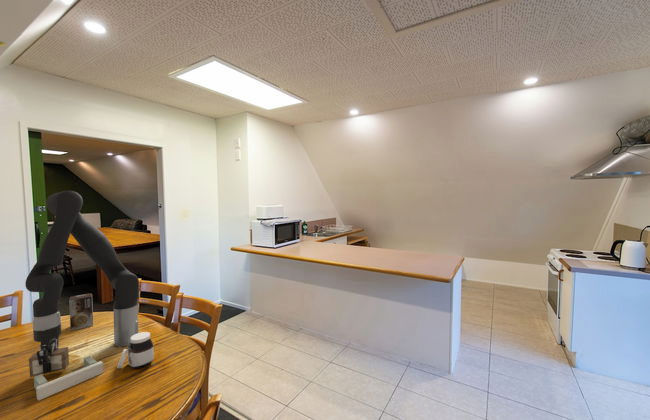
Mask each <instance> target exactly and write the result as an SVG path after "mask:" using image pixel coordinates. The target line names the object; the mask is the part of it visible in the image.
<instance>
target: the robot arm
mask: <svg viewBox="0 0 650 420" xmlns="http://www.w3.org/2000/svg"><path fill="white" fill-rule="evenodd" d="M45 203H46V207H47V209H48V210H49V212H50V213H52V215H54V220H53V222H52V225H51V227H50V229H49V231H48V232H47V233H46V234H47V235H46V236H45V238H44V240H43V242H42V244H41V247H40V250H39V254H38V258H37V261H36V263H35V264H34V265H33V267H32V269H31V270H30V272H29V273H28V274H27V277H26V279H25V288H26V290H27V291H29V292H31V293H43V295H42V297H41V298H40V297H39V298H37V299H35V300H34V301H33V302H32V315H33V316H32V317H33V318H32V330H33V341H34V342H39V343H40V344H39V348H38V351H37V352H35V353H36V354H37V358H38V362H39V365H43V373H47V374H49V373H48V372H50V371H51V355H53V350H56V349H59V348H60V347H59V343H60V342H59V341H60V340H59V339H60V336H61V334H62V319H61V317H62V316H61V313H60V298H61V294H62V290H63V287H64V283H65V282H64V278H63V276H62V275H61V274H59V273H57V272H51V270H52V269H53V268H56V267H60V266H62V264H63V262H64V258H65V254H66V250H67V246H68V242H69V238H70V236H72V237H73V238H74V240H75V241H76V243H78V245H79V246H80V248H81V249H82V250H83V251H84V252H85V254H86V255H87V256H88V258H90V260H91V261H93V262H94V263H95V264H96V266H98V267H99V268H100V269H101V270H102V272H103V274H104V275H105V276H106V278H107V280H108V281H109V283H110V285H111V287H112V288H113V289H114V295H115V297H114V301H113V304H112V305H113V306H112V307H113V308H112V309H113V342H114V343H113V345H114V346H115V347H128V345H129V343H130V338H131V337H132V336H133V335H135V334H137V333H139V316H138V314H139V313H138V312H139V311H138V310H139V308H138V306H139V305H138V301H139V297H140V282H139V281H140V280H139V277H138V276H137V275H136V274H135V273H133V272H131V271H130V270H128V269H127V268H126V267H125V265H123V263H122V262H121V260H120V259H119V258H118V255H117V252H116V251H115V248H114V245H113V244H112V243H111V241H110V240H109V238H108V237H107V236H106V235H105V234H104V232H102V231H101V230H100V229H98V228H97V227H96V226H95V225H93V224H92V223H90V222H89V221H87V220H86V218H85V217H84V216H83V214H82V213H81V212H80V211H81V210H82V207H83V204H84V200H83V197H82V196H81V194H79V192H76V191H74V190H63V191H59V192H55V193H52V194H50V195H49V196H48V197H47V199H46V202H45ZM49 352H50V353H49ZM48 353H49V354H48ZM44 359H45V360H44Z"/></svg>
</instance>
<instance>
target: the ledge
mask: <svg viewBox="0 0 650 420" xmlns="http://www.w3.org/2000/svg"><path fill="white" fill-rule="evenodd" d="M103 373H104V362H103V361H101V360H100V361H97V360H95V358H93V357H92V356H91V355H87V356H86V357H83V367H81V368H79V369H77V370H74V371H72V372H69V373H67V374H65V375H63V376H60V377H58V378H55V379H52V380H50V381H48V380H47V379H46V377H45V376H44V374H43V375H42V374H40V375H38V376H34V377H33V388H34V390H35V391H36V400H37V401H38V402H39V401H42V400H43V399H46V398H48V397H51V396H52V395H54V394H55V395H56V394H57V393H59V392H62V391H64V390H67V389H68V388H69V389H70V388H71V387H73V386H76V385H78V384H81V383H83V382H85V381H87V380H90V379H92V378H94V377H97V376H98V375H101V374H103Z"/></svg>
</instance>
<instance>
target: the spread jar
mask: <svg viewBox="0 0 650 420" xmlns="http://www.w3.org/2000/svg"><path fill="white" fill-rule="evenodd" d="M154 351H155V350H154V343H153V340H152V339H151V333H150V332H148V331H143V332H138V333H137V334H135V335H133V336H132V337H131V338H130V343H129V345H127V348H124V349H123V350H122V352H121V355H120V358H119V361H118V364H117V367H116V368H117V369H122V367H123V366H124V363H125V359H126V358H127V362H128V365H129V367H130V368H132V369H134V370H135V369H136V370H138V369H142V368H144V366H145V367H147V366H148V365H150V364H151V363H152V362H153V361H154V359H155V358H154V356H155V355H154V354H155V353H154ZM146 365H147V366H146Z"/></svg>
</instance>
